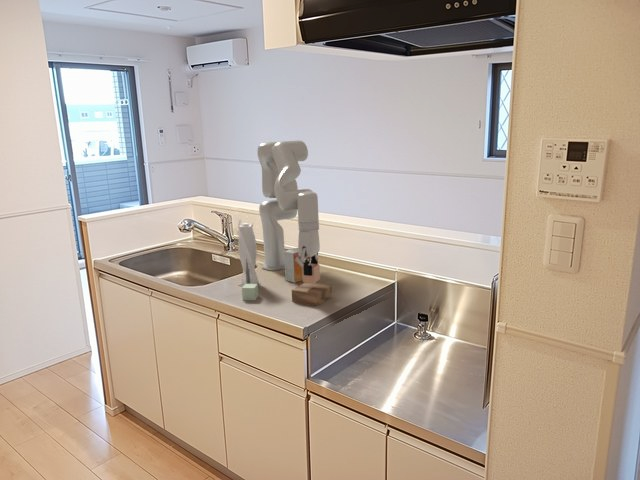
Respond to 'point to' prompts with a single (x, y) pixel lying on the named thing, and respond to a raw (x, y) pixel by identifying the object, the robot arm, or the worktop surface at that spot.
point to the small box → (293, 265)
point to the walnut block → (312, 293)
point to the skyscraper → (247, 253)
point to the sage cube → (250, 291)
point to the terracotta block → (315, 274)
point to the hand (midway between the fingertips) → (311, 272)
